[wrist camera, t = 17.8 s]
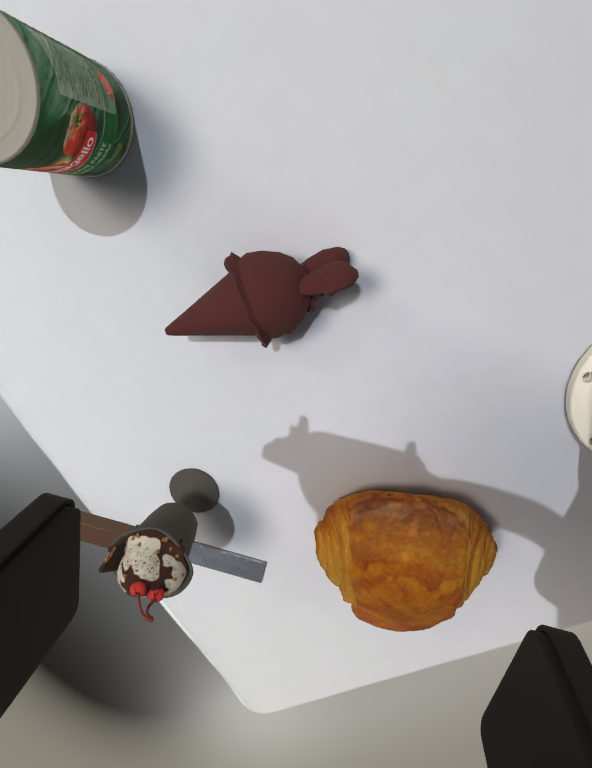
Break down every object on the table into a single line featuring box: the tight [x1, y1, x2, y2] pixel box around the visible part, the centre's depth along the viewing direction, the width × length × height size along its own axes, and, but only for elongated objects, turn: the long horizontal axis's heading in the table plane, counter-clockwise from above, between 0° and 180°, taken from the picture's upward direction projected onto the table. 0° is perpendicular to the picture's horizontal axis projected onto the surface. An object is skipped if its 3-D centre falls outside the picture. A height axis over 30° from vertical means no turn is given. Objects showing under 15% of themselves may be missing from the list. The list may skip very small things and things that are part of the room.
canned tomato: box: [0, 10, 133, 177], centre depth 29 cm, size 8×8×11 cm
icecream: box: [165, 247, 359, 348], centre depth 34 cm, size 7×7×15 cm
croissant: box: [314, 490, 497, 632], centre depth 41 cm, size 14×16×8 cm
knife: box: [80, 511, 266, 583], centre depth 47 cm, size 23×3×2 cm, turn 77°
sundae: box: [99, 469, 219, 622], centre depth 38 cm, size 7×7×15 cm
